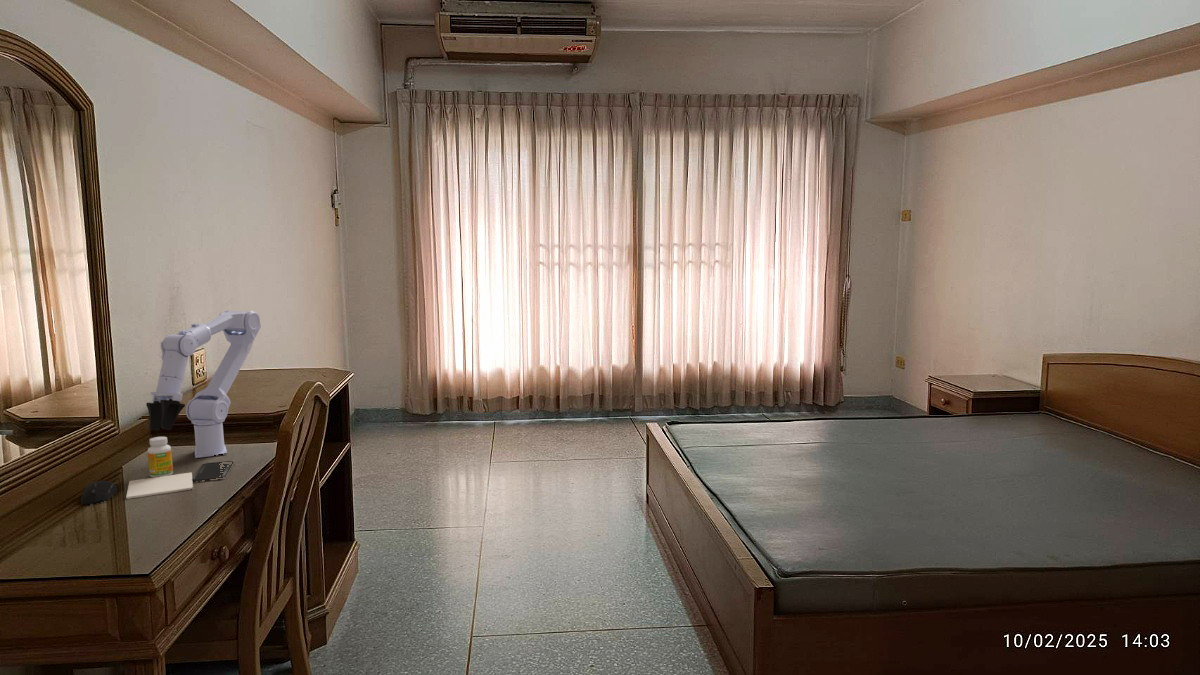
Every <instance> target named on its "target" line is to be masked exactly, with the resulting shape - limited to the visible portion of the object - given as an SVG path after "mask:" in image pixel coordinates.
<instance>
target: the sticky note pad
mask: <svg viewBox="0 0 1200 675" xmlns="http://www.w3.org/2000/svg"><path fill="white" fill-rule="evenodd" d="M192 478H193V472H191V471H190V472H184V473H177V474H171V475H169V476H162V477H155V478H153V477H150V478H149V477H147V478H141V479H140V478H139V479H136V480H129V482H128V485H127V491H126V498H125V499H126V500H130V499H137V498H144V497H149V496H150V497H151V496H157V495H164V494H165V495H166V494H170V493H176V492H185V491H191V489H192V490H194V484H193V483H194V482H193V480H192Z"/></svg>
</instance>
